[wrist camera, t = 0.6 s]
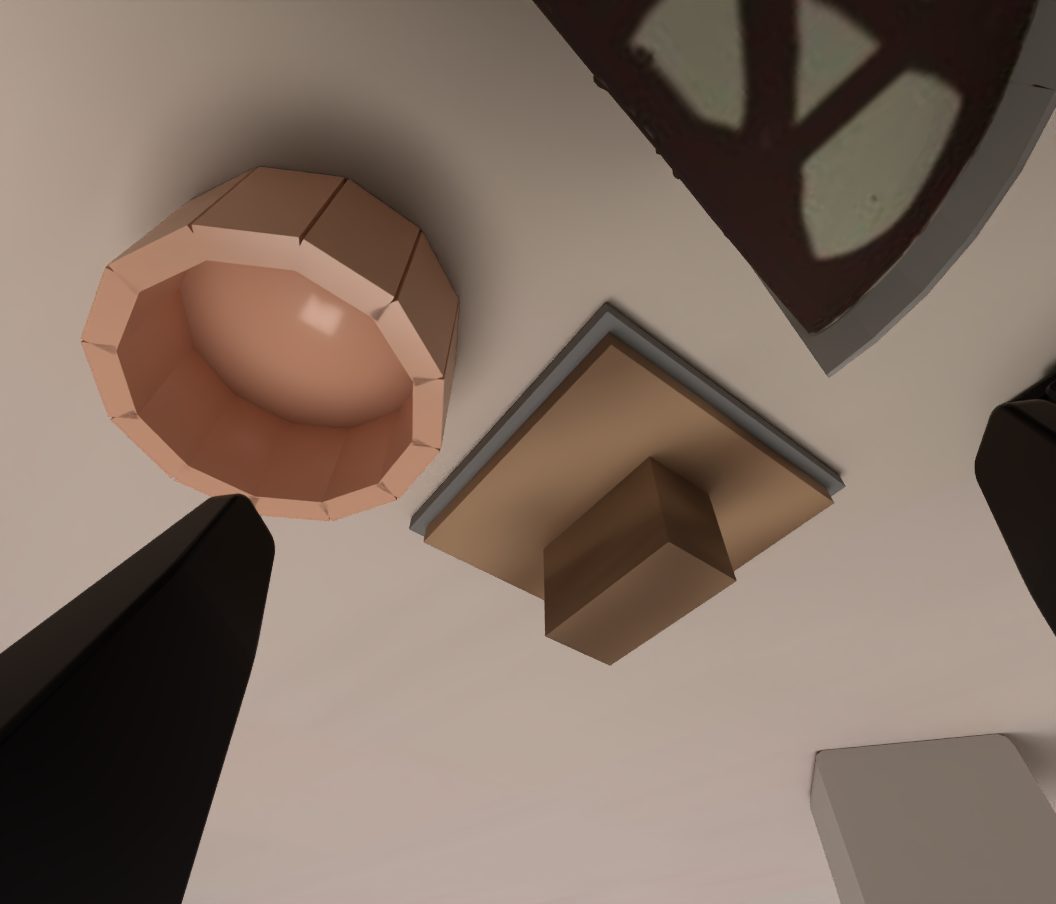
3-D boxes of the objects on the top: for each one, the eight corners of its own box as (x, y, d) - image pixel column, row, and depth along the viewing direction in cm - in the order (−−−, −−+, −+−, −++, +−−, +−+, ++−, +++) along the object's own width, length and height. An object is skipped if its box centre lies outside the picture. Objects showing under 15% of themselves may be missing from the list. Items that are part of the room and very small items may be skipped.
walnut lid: (826, 488, 24) (880, 589, 20) (628, 626, 30) (642, 726, 26) (608, 331, 20) (626, 422, 16) (426, 527, 25) (408, 628, 22)
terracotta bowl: (513, 293, 20) (509, 370, 16) (374, 468, 24) (348, 557, 21) (230, 96, 16) (149, 140, 13) (130, 343, 21) (50, 425, 17)
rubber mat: (839, 475, 24) (845, 486, 24) (627, 625, 31) (629, 635, 30) (605, 302, 20) (607, 311, 19) (411, 518, 26) (408, 529, 26)
